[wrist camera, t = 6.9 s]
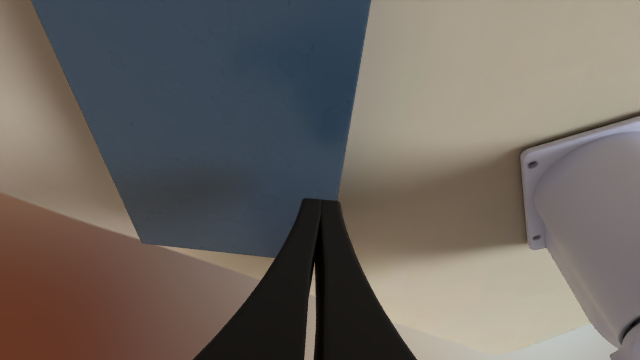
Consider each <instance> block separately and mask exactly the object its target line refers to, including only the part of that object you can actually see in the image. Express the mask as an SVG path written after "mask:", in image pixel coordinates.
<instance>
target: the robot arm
mask: <svg viewBox="0 0 640 360" xmlns="http://www.w3.org/2000/svg"><path fill="white" fill-rule="evenodd" d="M520 162H521V174H522V185H523V197H524V209H525V220H526V232H527V243H528V245H529V247H530V249H533V250H538V249H543V248H547V249H548V251H549V253H550V254H551V256H552V258H553V259H554V261H555V263H556V265H557V266H558V268H559V270H560V271H561V273H562V275H563V276H564V278H565V280H566V282H567V283H568V285H569V287H570V288H571V290H572V292H573V294H574V295H575V297H576V299H577V300H578V302H579V304H580V305H581V307H582V309H583V311H584V312H585V314H586V316H587V317H588V319H589V321H590V322H591V323H592V325H593V326H594V328H595V329H596V330H597V331H598V332H599V333H600V334H601V335H602V336H603V337H604V338H605V339H606V340H607V341H608V342H610V343H611V344H612V345H614V346H615V347H617V348H618V349H619V350H617V351H616V352H614V353H612V354H611V355H610V358H611V360H640V116H638V117H634V118H631V119H627V120H624V121H621V122H617V123H614V124H610V125H607V126H603V127H600V128H597V129H593V130H590V131H586V132H583V133H580V134H576V135H573V136H569V137H566V138H562V139H559V140H556V141H552V142H549V143H545V144H542V145H538V146H535V147H532V148H529V149H526V150H525V151H523V152H522V154H521V156H520ZM531 162H533V163H531ZM529 163H531V164H529ZM314 263H315V282H316V334H315V349H314V360H417V359H416V358H415V356H414V355H413V354H412V352H411V351H410V349H409V348H408V347H407V345H406V344H405V342H404V341H403V339H402V338H401V336H400V335H399V333H398V332H397V330H396V329H395V327H394V326H393V324H392V322H391V321H390V319H389V318H388V316H387V315H386V313H385V311H384V310H383V308H382V306H381V305H380V303H379V301H378V299H377V298H376V296H375V294H374V292H373V290H372V288H371V286H370V284H369V283H368V281H367V279H366V276H365V274H364V272H363V270H362V268H361V266H360V263H359V261H358V259H357V256H356V254H355V252H354V249H353V246H352V244H351V241H350V238H349V236H348V233H347V229H346V226H345V223H344V219H343V215H342V211H341V205H340V203H339V202H338V201H333V200H323V199H312V198H304V199H302V202H301V206H300V209H299V212H298V215H297V217H296V220H295V222H294V224H293V226H292V229H291V230H290V232H289V234H288V236H287V238H286V240H285V242H284V244H283V246H282V248H281V249H280V251H279V253H278V255H277V256H276V258H275V260H274V261H273V263H272V265H271V266H270V268H269V269H268V271H267V272H266V274H265V275H264V277H263V278H262V280H261V281H260V283H259V284H258V285H257V287H256V288H255V289H254V291H253V292H252V293H251V295H250V296H249V297H248V299H247V300H246V301H245V303H244V304H243V305H242V306H241V308H240V309H239V310H238V311H237V312H236V313H235V315H234V316H233V317H232V318H231V319H230V320H229V322H228V323H227V324H226V325H225V326H224V327H223V328H222V330H221V331H220V332H219V333H218V334H217V335H216V336H215V337H214V338H213V340H212V341H211V342H210V343H209V344H208V345H207V346H206V347H205V348H204V349H203V350H202V351H201V352H200V353H199V354H198V355H197V356H196V357H195V358H194V359H193V360H304V354H305V339H306V324H307V311H308V297H309V292H310V286H311V281H312V275H313V269H314Z"/></svg>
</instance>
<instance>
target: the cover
mask: <svg viewBox="0 0 640 360" xmlns="http://www.w3.org/2000/svg"><path fill="white" fill-rule="evenodd" d="M31 2H32V4H33V6H34V8H35V10H36V13H37V15H38V17H39V19H40V21H41V24H42V26H43V28H44V30H45V32H46V34H47V37H48V39H49V41H50V43H51V45H52V48H53V50H54V52H55V54H56V56H57V59H58V61H59V63H60V65H61V67H62V69H63V72H64V74H65V76H66V78H67V80H68V83H69V85H70V87H71V89H72V91H73V94H74V96H75V98H76V100H77V102H78V104H79V107H80V109H81V111H82V113H83V115H84V118H85V120H86V122H87V124H88V126H89V129H90V131H91V133H92V135H93V137H94V139H95V142H96V144H97V146H98V148H99V150H100V153H101V155H102V157H103V159H104V161H105V164H106V166H107V168H108V170H109V172H110V174H111V177H112V179H113V181H114V183H115V185H116V188H117V190H118V192H119V194H120V196H121V199H122V201H123V203H124V205H125V207H126V209H127V212H128V214H129V216H130V218H131V220H132V223H133V225H134V227H135V229H136V231H137V234H138V236H139V238H140V240H141V242H142V243H144V244H153V245H162V246H171V247H180V248H189V249H198V250H207V251H216V252H226V253H235V254H244V255H253V256H262V257H271V258H276V256H277V255H278V253H279V251H280V249H281V248H282V246H283V244H284V242H285V240H286V238H287V236H288V234H289V232H290V230H291V229H292V226H293V224H294V222H295V220H296V217H297V215H298V212H299V209H300V206H301V202H302V199H304V198H312V199H323V200H333V201H337V198H338V192H339V186H340V180H341V174H342V169H343V163H344V157H345V151H346V145H347V139H348V133H349V127H350V121H351V115H352V110H353V104H354V98H355V92H356V86H357V80H358V74H359V68H360V62H361V57H362V51H363V45H364V39H365V33H366V27H367V21H368V15H369V9H370V3H371V0H31Z"/></svg>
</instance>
